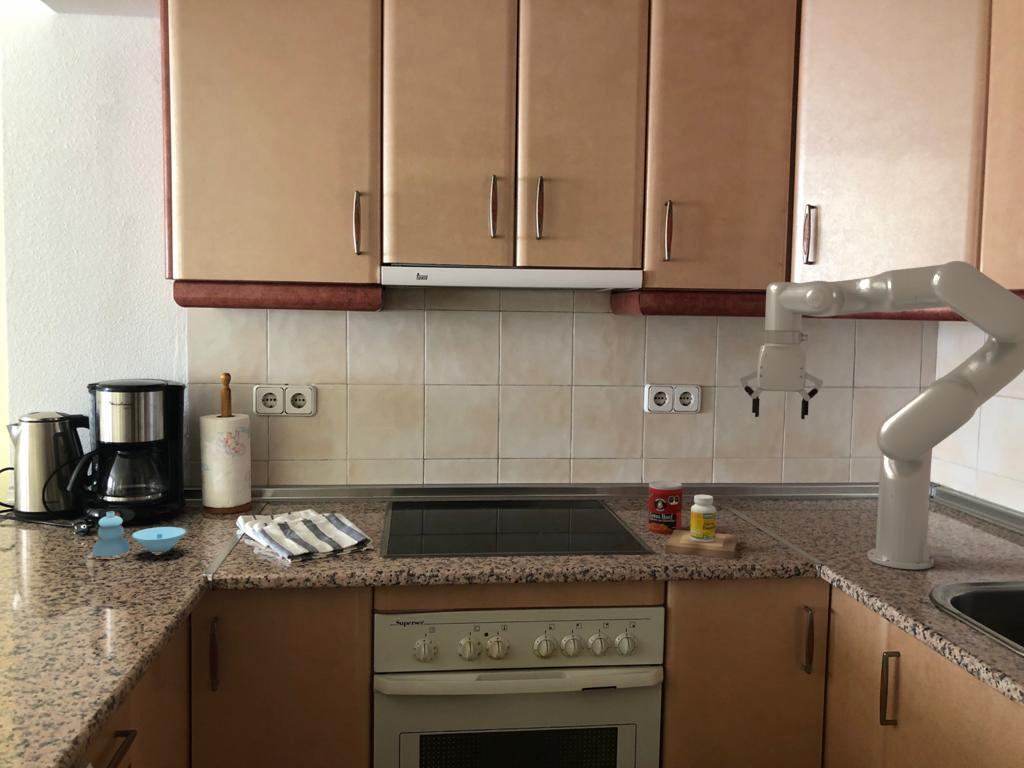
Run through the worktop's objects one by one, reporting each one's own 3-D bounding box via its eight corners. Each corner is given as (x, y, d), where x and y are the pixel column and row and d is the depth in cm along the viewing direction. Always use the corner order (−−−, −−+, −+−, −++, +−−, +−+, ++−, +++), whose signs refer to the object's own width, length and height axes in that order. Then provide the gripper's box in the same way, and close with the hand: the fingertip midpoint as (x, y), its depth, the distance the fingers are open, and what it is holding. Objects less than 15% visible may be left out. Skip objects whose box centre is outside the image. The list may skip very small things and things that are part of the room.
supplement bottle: (702, 535, 194) (703, 492, 193) (720, 540, 189) (721, 497, 188) (684, 538, 191) (686, 495, 190) (702, 544, 186) (704, 500, 185)
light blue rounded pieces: (191, 546, 186) (190, 504, 185) (181, 560, 176) (180, 516, 175) (101, 549, 183) (100, 507, 182) (86, 563, 173) (84, 519, 172)
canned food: (643, 531, 203) (644, 484, 202) (654, 524, 210) (655, 479, 209) (675, 535, 199) (676, 488, 198) (685, 528, 206) (686, 482, 205)
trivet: (737, 541, 195) (737, 534, 194) (733, 558, 181) (733, 551, 181) (674, 536, 199) (674, 529, 199) (665, 551, 186) (665, 544, 186)
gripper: (824, 339, 190) (821, 417, 192) (742, 338, 195) (740, 413, 197) (825, 340, 183) (822, 421, 184) (740, 339, 188) (737, 417, 190)
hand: (779, 417), depth 191 cm, fingers open, 9 cm apart
